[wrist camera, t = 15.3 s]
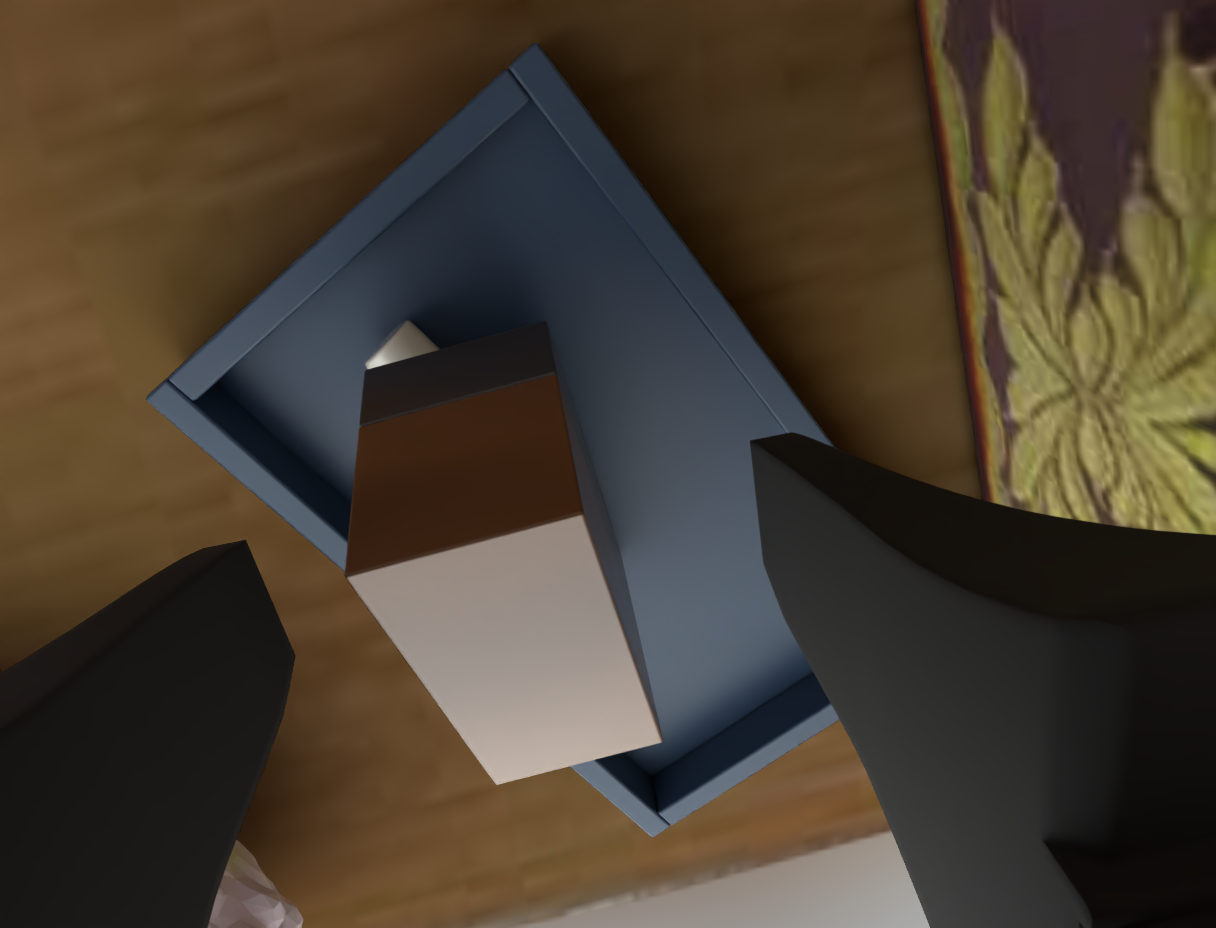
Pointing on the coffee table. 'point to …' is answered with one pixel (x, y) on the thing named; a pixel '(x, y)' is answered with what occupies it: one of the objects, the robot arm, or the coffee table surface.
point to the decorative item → (250, 897)
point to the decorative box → (1083, 249)
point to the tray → (599, 387)
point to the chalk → (400, 345)
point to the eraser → (498, 555)
